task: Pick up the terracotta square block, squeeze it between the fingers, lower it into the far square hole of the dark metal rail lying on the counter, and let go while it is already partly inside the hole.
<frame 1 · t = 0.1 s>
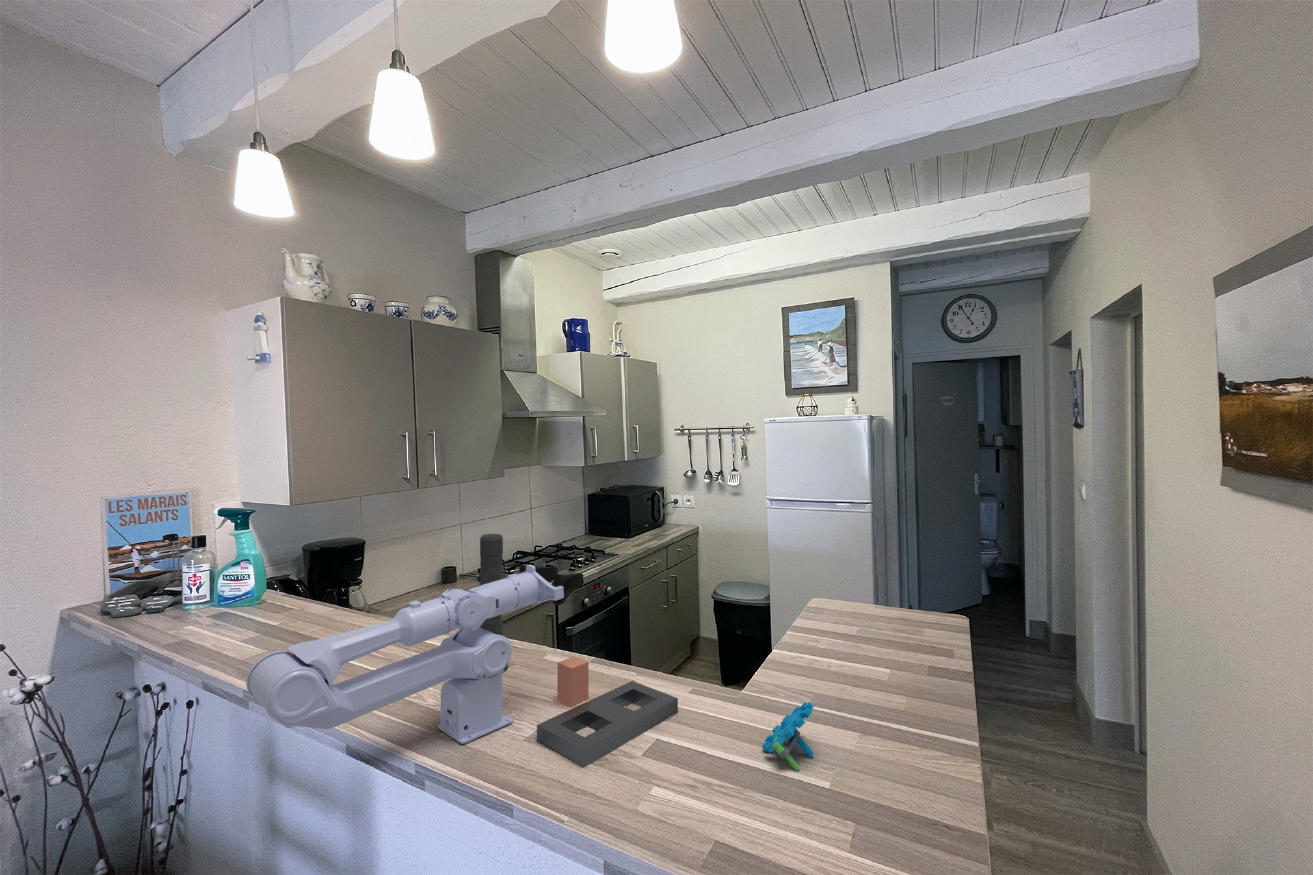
hand: (569, 575, 107), 22 cm above the countertop, tool horizontal, fingers open, 7 cm apart
square block: (572, 700, 101), on the countertop
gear: (787, 754, 84), on the countertop
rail: (610, 725, 92), on the countertop
flashlight: (490, 669, 115), on the countertop
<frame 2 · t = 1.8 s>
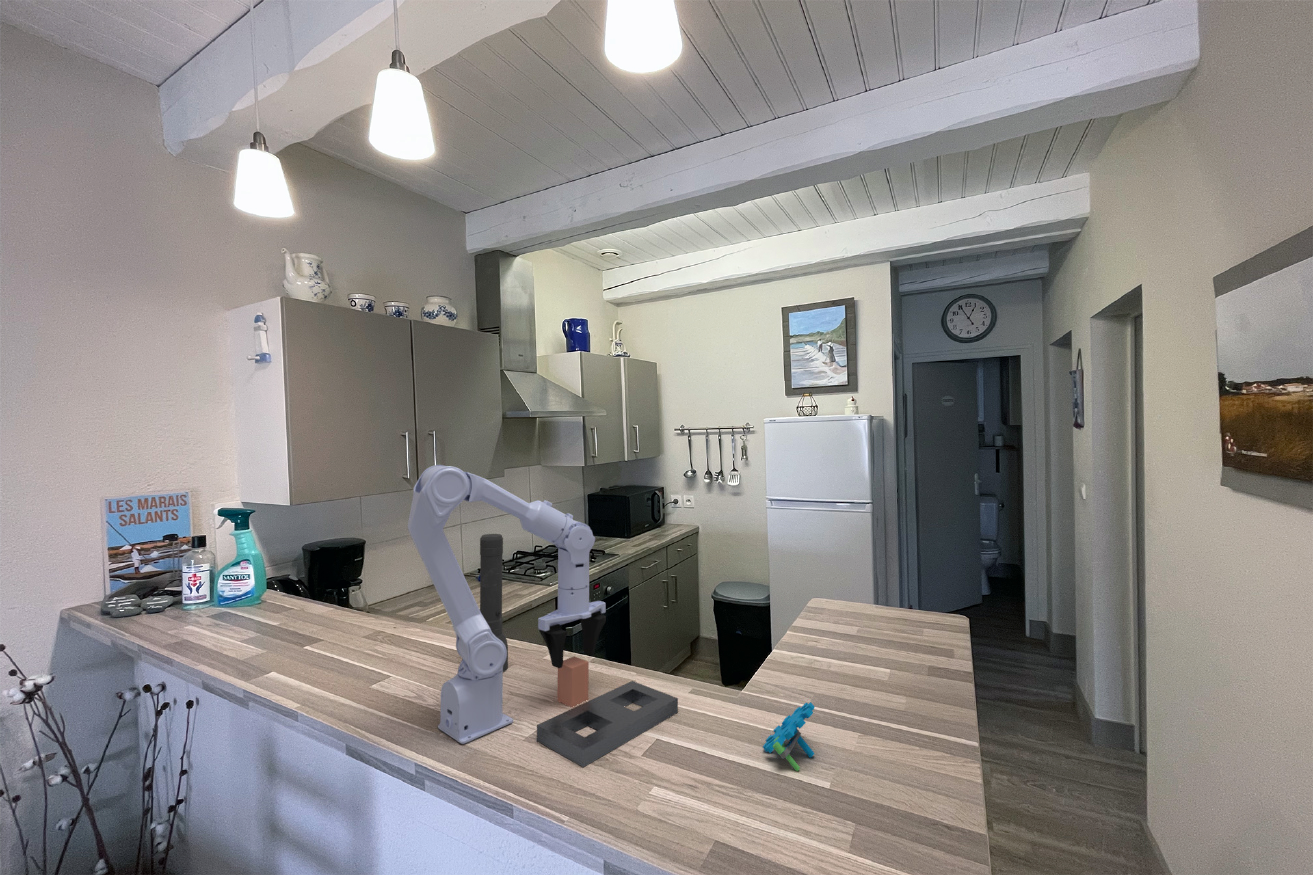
hand: (573, 660, 101), 7 cm above the countertop, tool pointing down, fingers open, 7 cm apart
nothing on the countertop moved.
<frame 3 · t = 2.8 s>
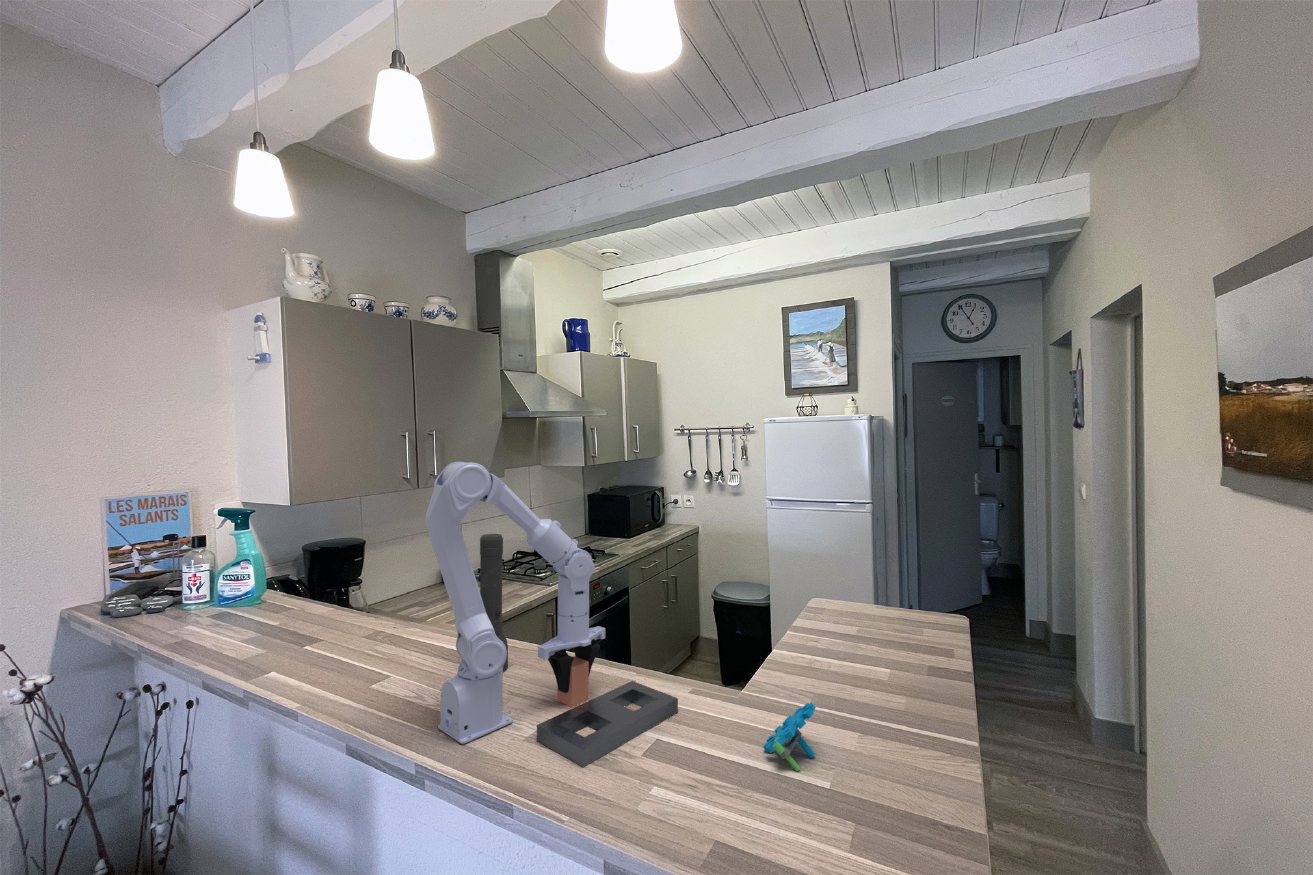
hand: (573, 686, 101), 2 cm above the countertop, tool pointing down, fingers closed on square block, 4 cm apart
square block: (572, 700, 101), on the countertop, touching gripper
everything else where it was.
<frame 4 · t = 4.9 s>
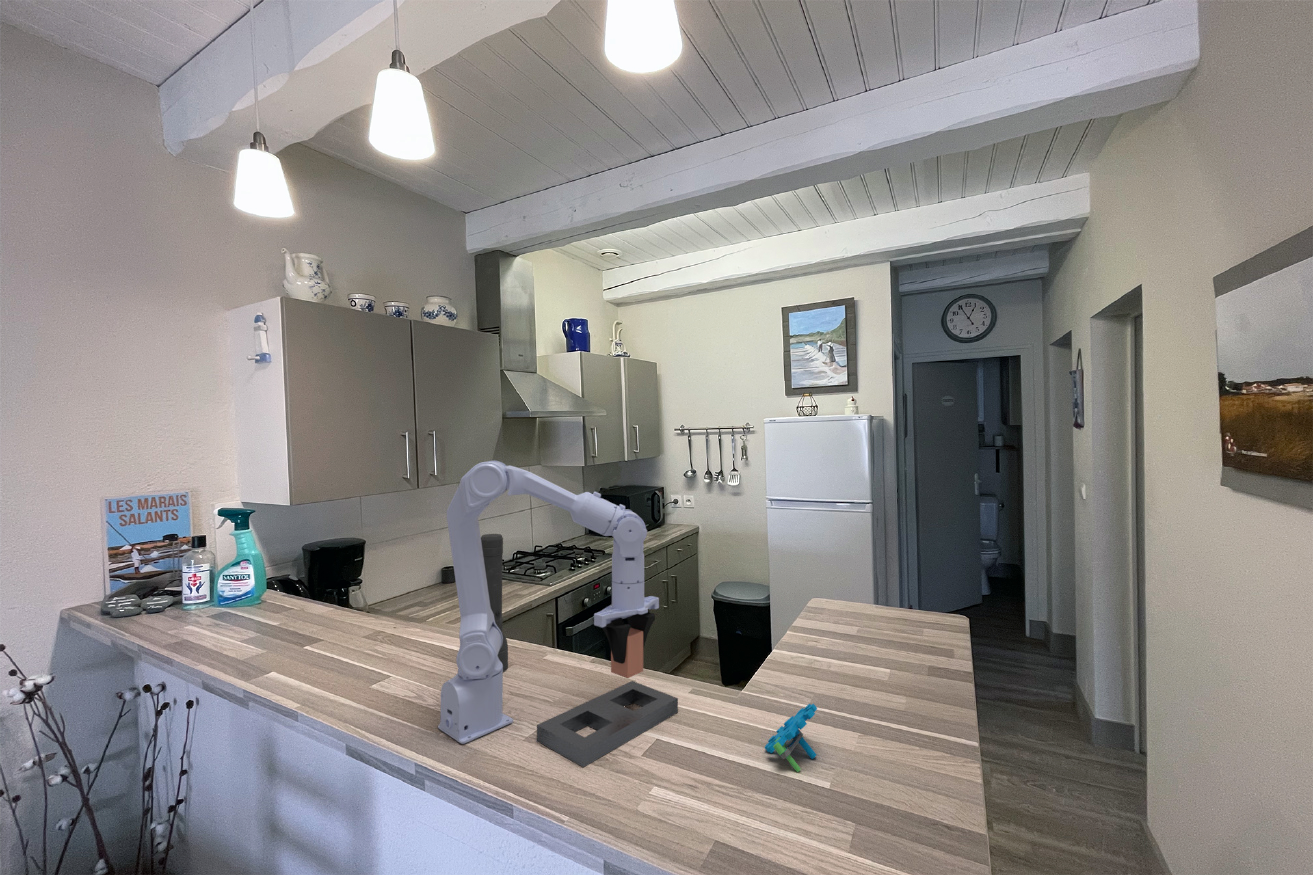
hand: (628, 657, 96), 10 cm above the countertop, tool pointing down, fingers closed on square block, 4 cm apart
square block: (627, 671, 97), point 7 cm above the countertop, touching gripper
everything else where it was.
when the fingers open (3 cm above the countertop, at t = 6.9 s): square block stays where it is, resting in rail.
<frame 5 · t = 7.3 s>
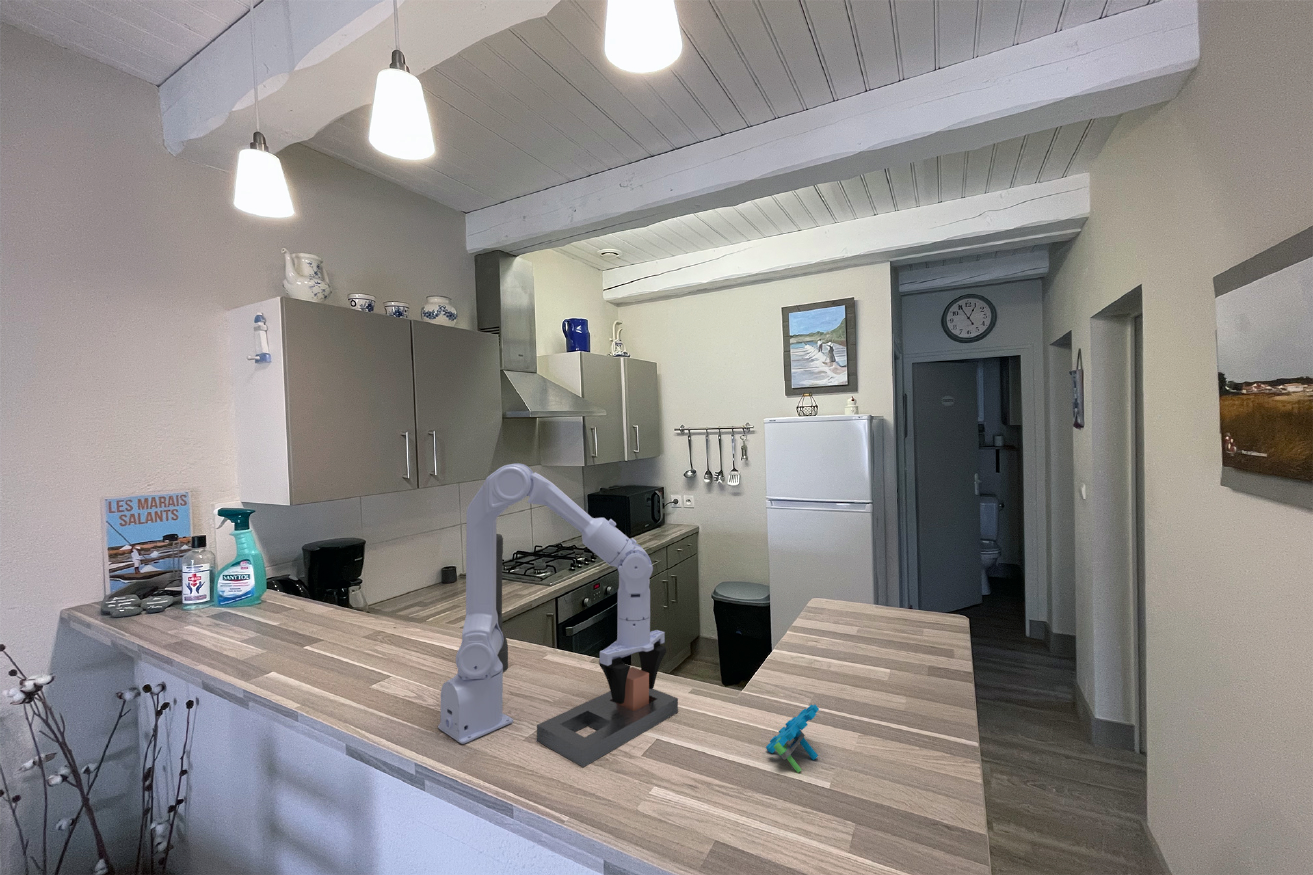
hand: (633, 694, 96), 3 cm above the countertop, tool pointing down, fingers open, 7 cm apart
square block: (632, 713, 96), resting in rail
everything else where it was.
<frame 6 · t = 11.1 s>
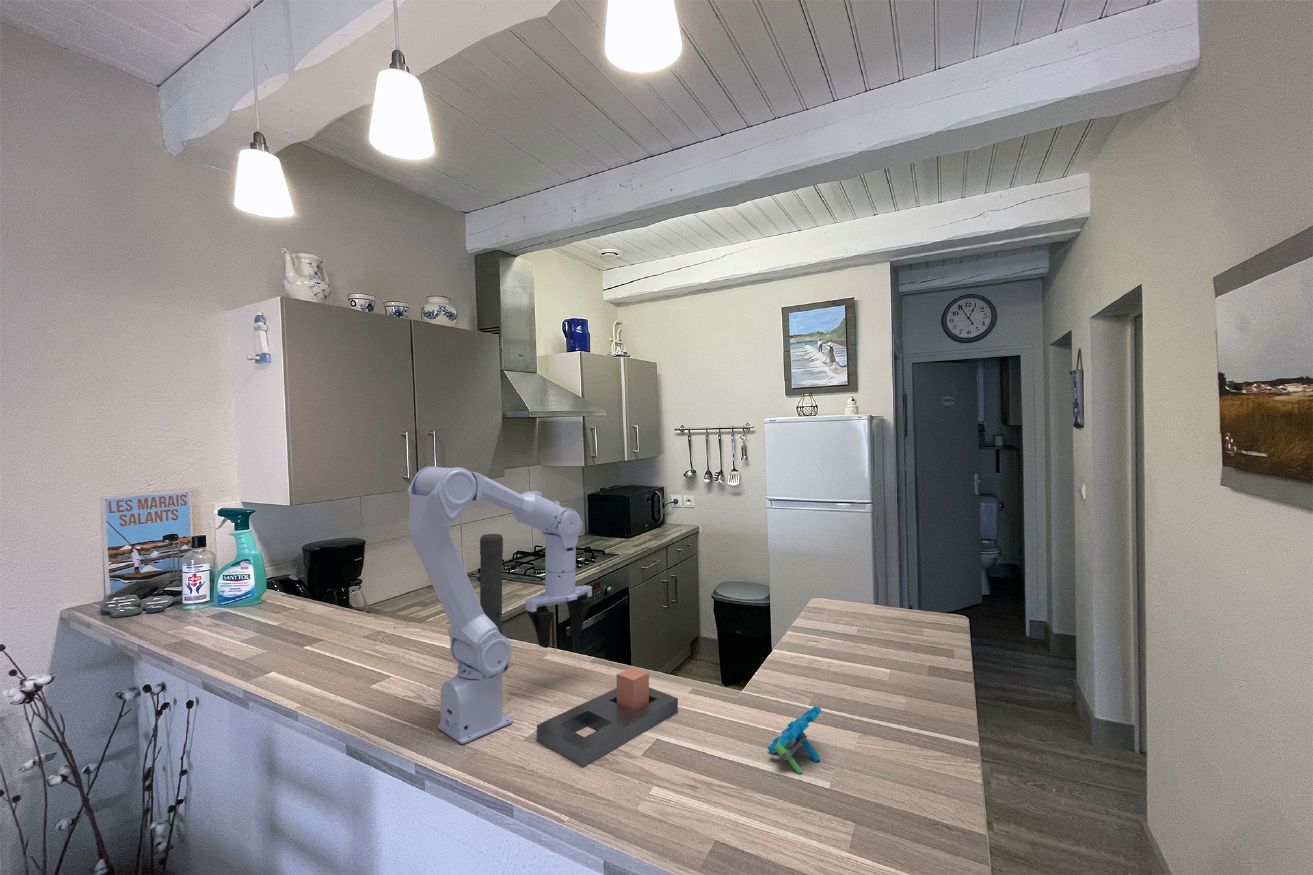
hand: (560, 640, 105), 9 cm above the countertop, tool pointing down, fingers open, 7 cm apart
at the end: square block 0.2 cm from the target spot on the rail, point 0.0 cm above the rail's base; square block tilted 0°; the gripper is holding nothing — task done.
